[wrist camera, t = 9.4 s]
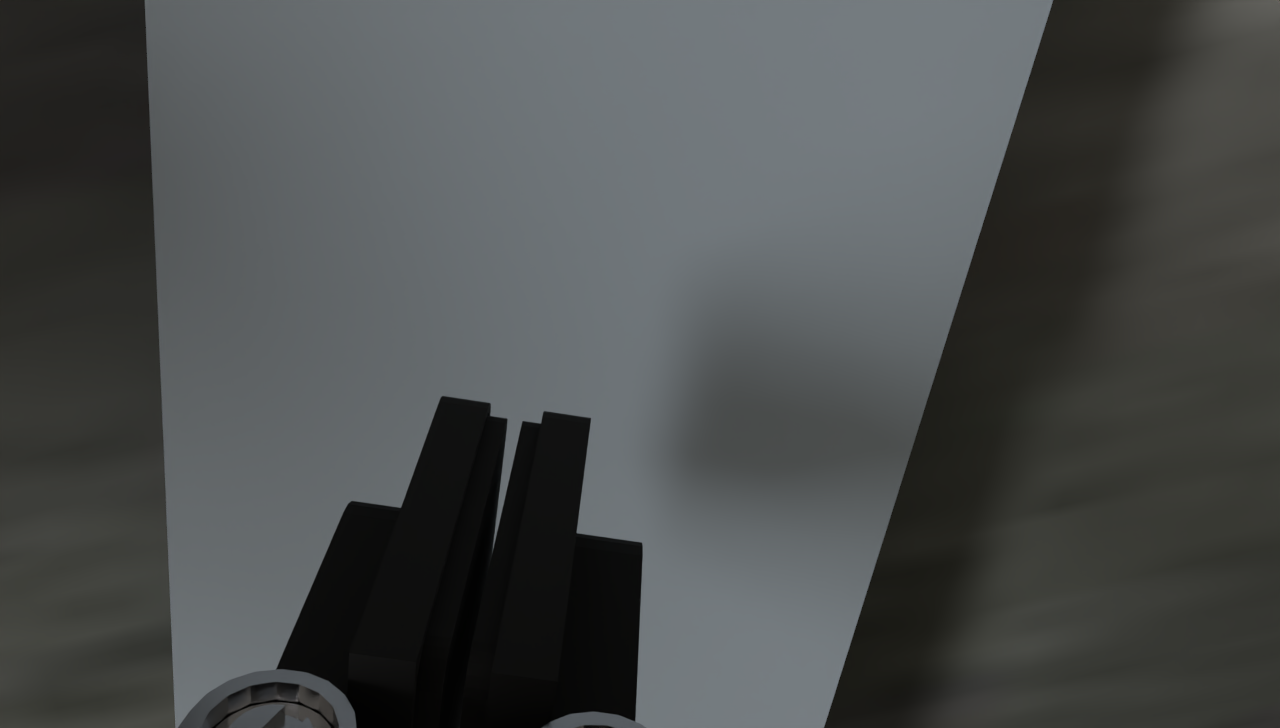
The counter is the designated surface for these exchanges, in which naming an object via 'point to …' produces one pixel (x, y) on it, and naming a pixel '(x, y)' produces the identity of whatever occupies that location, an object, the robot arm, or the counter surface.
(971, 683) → the counter surface
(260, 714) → the robot arm
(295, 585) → the slate bench
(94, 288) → the counter surface
